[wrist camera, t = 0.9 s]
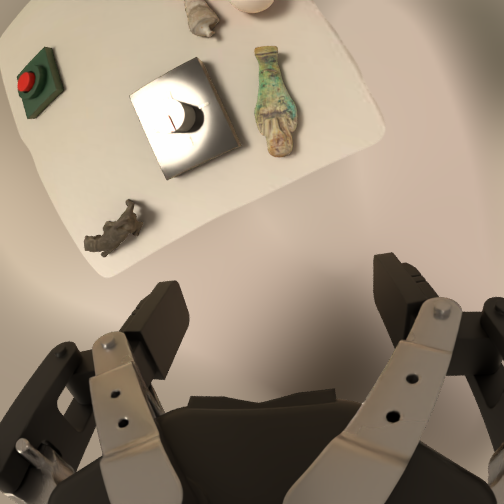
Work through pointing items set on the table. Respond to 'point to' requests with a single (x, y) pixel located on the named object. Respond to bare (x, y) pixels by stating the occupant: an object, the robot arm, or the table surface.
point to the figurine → (274, 104)
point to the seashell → (200, 17)
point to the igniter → (41, 83)
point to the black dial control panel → (205, 126)
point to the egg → (251, 5)
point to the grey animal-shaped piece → (114, 232)
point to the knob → (172, 116)
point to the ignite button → (26, 81)
